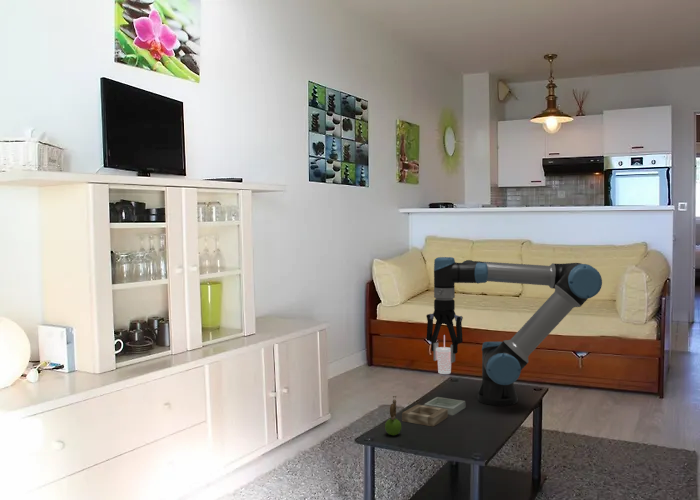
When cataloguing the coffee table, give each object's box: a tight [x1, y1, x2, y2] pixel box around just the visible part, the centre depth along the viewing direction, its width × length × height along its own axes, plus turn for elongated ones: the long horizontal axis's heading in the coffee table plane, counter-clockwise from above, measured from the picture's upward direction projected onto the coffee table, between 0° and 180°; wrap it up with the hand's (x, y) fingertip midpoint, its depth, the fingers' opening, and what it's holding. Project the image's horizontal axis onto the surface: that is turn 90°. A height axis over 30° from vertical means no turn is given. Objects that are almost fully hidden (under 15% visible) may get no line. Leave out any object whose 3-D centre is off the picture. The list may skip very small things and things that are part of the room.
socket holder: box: [401, 404, 449, 427], centre depth 225 cm, size 12×12×3 cm
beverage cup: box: [436, 334, 452, 375], centre depth 236 cm, size 6×6×14 cm
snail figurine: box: [384, 395, 402, 436], centre depth 209 cm, size 5×6×12 cm
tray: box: [423, 396, 466, 416], centre depth 237 cm, size 12×12×2 cm
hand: (444, 360), depth 236 cm, fingers closed on beverage cup, 6 cm apart
